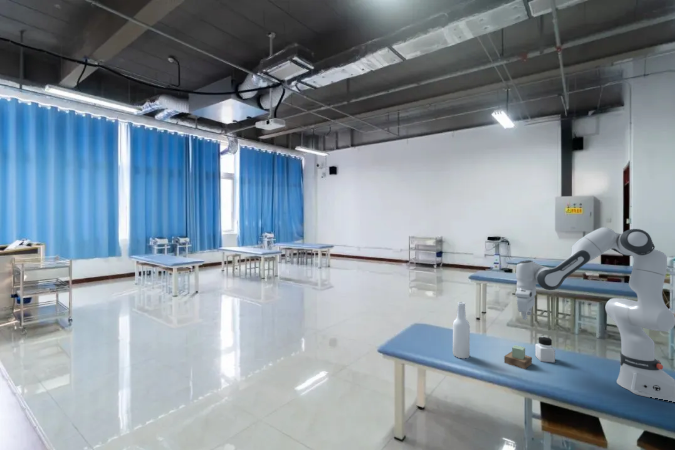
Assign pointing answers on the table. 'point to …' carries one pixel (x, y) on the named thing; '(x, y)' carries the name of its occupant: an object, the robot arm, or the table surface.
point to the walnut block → (518, 361)
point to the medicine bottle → (545, 350)
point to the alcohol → (461, 333)
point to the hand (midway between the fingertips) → (527, 317)
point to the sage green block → (518, 352)
